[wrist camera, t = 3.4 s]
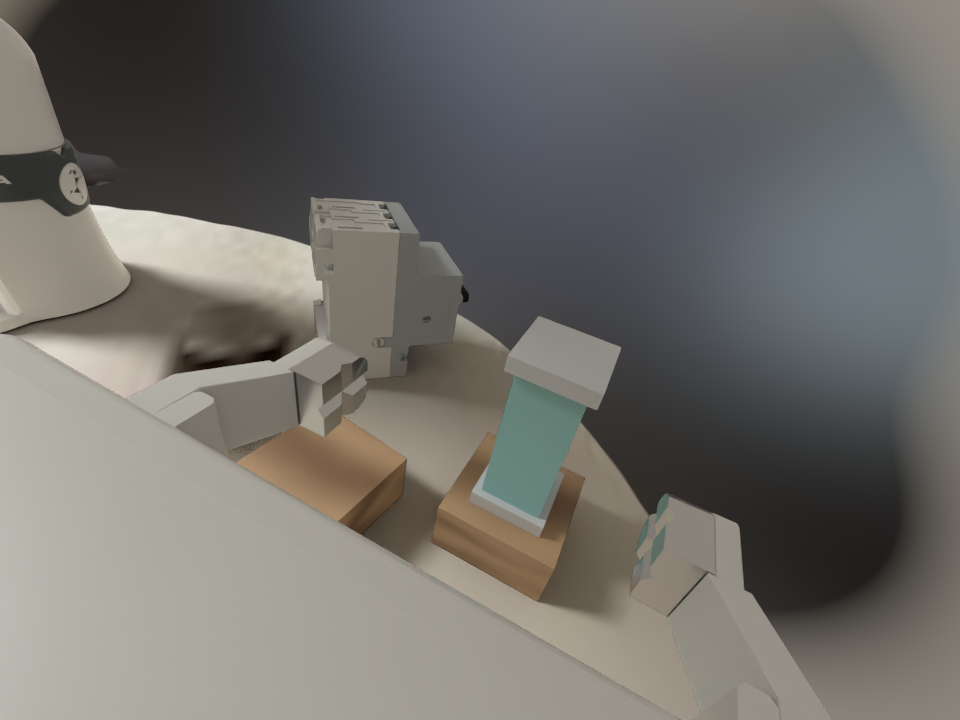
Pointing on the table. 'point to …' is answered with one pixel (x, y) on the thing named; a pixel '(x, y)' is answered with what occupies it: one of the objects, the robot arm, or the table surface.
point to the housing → (542, 419)
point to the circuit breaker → (380, 283)
